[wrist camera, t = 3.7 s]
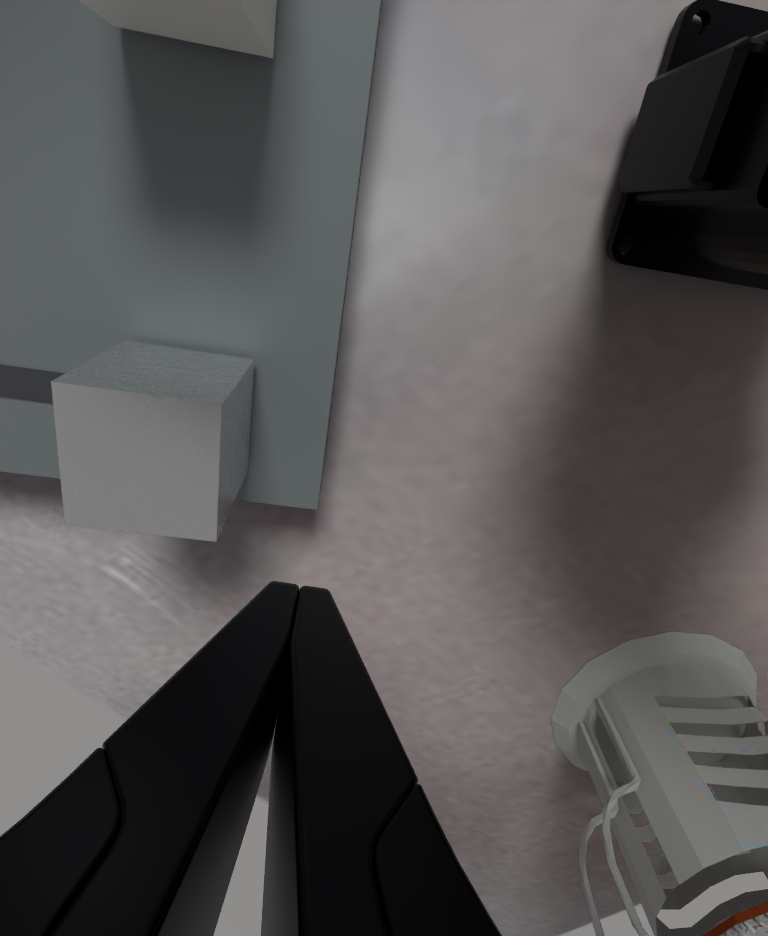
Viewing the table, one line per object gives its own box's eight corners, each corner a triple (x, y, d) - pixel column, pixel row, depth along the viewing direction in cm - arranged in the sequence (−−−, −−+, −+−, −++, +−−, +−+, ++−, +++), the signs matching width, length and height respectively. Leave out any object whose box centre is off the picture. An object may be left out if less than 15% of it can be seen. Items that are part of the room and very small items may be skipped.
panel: (402, -159, 13) (413, -264, 10) (322, 475, 20) (315, 520, 17) (-459, -371, 11) (-741, -570, 8) (-215, 407, 18) (-324, 444, 15)
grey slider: (254, 359, 15) (221, 404, 12) (247, 470, 17) (216, 541, 13) (125, 339, 15) (50, 381, 11) (130, 456, 17) (64, 524, 13)
